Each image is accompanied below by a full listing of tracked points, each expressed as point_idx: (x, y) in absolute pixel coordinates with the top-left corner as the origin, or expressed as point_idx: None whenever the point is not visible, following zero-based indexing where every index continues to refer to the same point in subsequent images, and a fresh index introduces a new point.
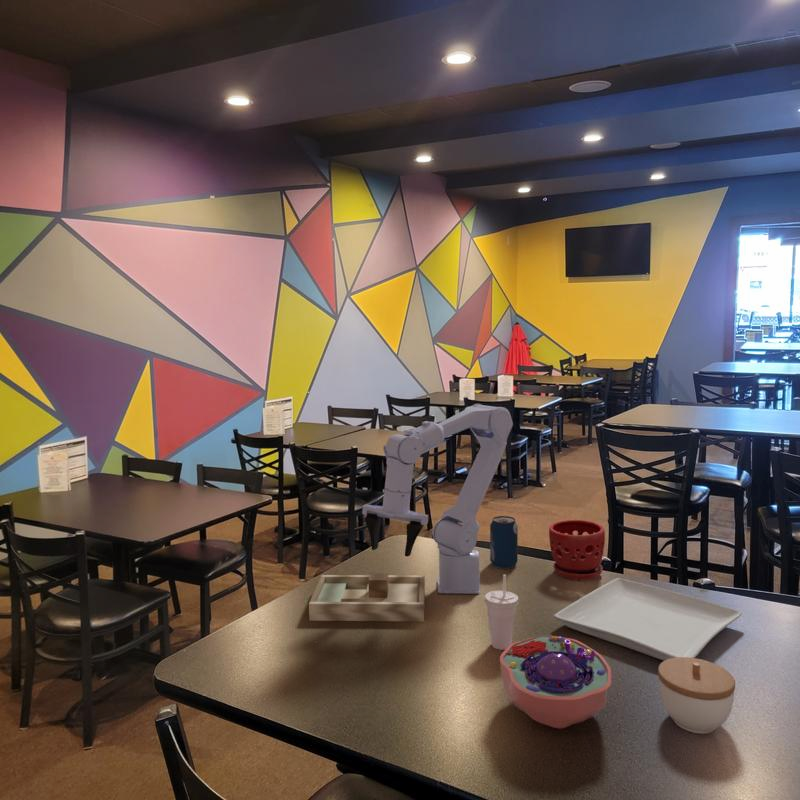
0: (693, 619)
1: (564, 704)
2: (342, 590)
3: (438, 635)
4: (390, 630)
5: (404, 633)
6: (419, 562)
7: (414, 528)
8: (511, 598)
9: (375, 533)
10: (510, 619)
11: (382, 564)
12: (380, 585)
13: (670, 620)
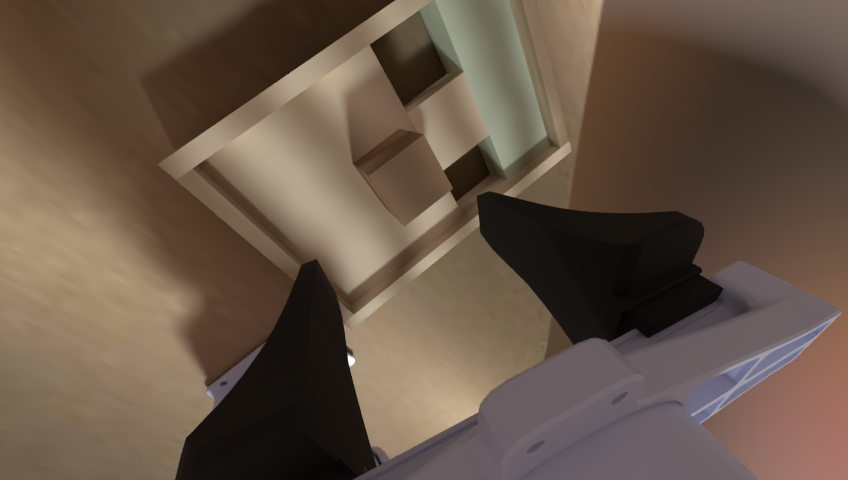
0: None
1: None
2: (489, 125)
3: (3, 82)
4: (211, 17)
5: (142, 21)
6: (445, 379)
7: (195, 447)
8: None
9: (535, 239)
10: None
11: (499, 323)
12: (382, 158)
13: None
